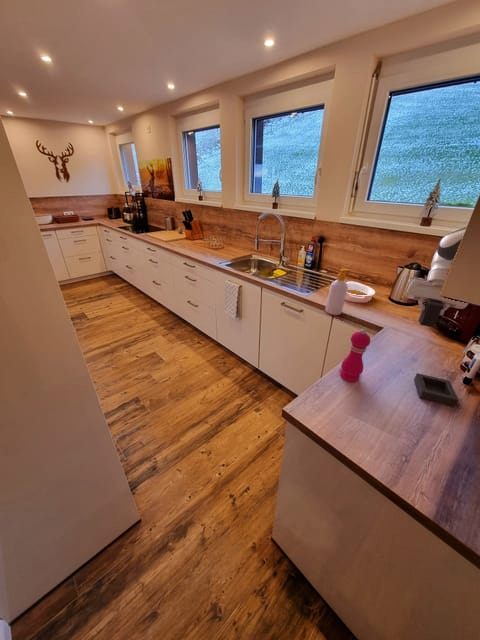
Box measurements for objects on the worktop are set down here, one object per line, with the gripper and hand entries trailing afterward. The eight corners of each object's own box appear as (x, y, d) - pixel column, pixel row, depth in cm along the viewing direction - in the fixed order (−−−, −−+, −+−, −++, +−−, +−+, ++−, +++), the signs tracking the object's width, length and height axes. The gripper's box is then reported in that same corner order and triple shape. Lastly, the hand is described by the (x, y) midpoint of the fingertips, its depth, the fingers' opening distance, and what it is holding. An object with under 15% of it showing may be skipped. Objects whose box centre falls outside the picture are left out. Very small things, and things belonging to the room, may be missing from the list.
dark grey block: (431, 322, 106) (441, 299, 101) (433, 327, 102) (444, 304, 97) (418, 320, 107) (427, 297, 102) (420, 325, 103) (430, 302, 99)
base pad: (445, 387, 92) (449, 380, 91) (454, 407, 84) (458, 400, 82) (413, 379, 95) (416, 373, 94) (419, 398, 87) (422, 391, 85)
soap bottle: (345, 315, 139) (356, 272, 128) (327, 315, 139) (337, 271, 127) (339, 308, 146) (349, 267, 135) (323, 308, 146) (331, 266, 135)
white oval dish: (376, 308, 149) (378, 300, 146) (335, 302, 154) (337, 294, 152) (370, 290, 173) (372, 283, 171) (334, 285, 178) (336, 279, 176)
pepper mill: (361, 375, 96) (377, 328, 87) (357, 386, 91) (373, 337, 81) (341, 367, 100) (354, 321, 90) (336, 377, 94) (349, 330, 85)
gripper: (411, 272, 106) (402, 302, 103) (474, 283, 97) (466, 316, 94) (408, 279, 112) (399, 308, 109) (467, 290, 103) (459, 322, 100)
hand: (431, 312), depth 102 cm, fingers closed on dark grey block, 5 cm apart
